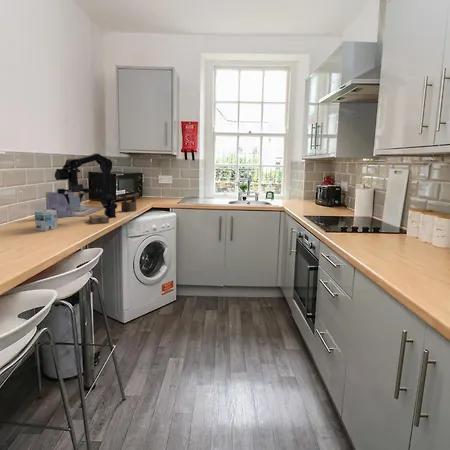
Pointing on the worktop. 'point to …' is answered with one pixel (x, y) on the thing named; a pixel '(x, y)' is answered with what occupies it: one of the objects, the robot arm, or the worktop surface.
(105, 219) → the walnut block
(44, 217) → the light bulb box
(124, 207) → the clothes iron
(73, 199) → the slate-blue cube
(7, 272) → the worktop surface
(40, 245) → the worktop surface
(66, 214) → the cake pan box
